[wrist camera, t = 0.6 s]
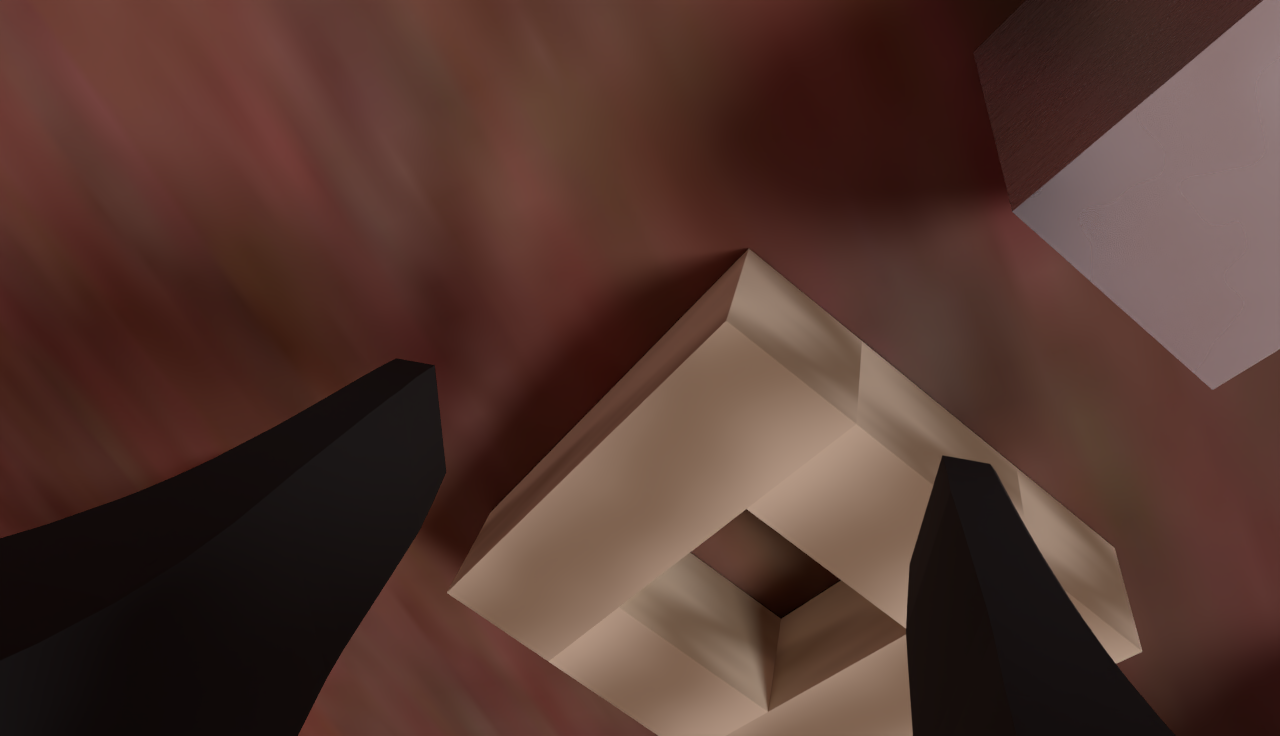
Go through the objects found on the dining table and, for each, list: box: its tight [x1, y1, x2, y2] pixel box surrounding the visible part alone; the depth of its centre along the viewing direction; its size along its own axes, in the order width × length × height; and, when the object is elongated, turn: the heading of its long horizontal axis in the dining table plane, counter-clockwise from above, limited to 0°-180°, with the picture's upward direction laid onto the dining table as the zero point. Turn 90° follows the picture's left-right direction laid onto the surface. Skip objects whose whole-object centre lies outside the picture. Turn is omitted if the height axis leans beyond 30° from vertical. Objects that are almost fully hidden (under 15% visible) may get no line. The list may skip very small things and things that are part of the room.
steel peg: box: [973, 0, 1280, 390], centre depth 14 cm, size 4×4×8 cm
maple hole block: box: [447, 249, 1142, 736], centre depth 25 cm, size 13×13×4 cm
